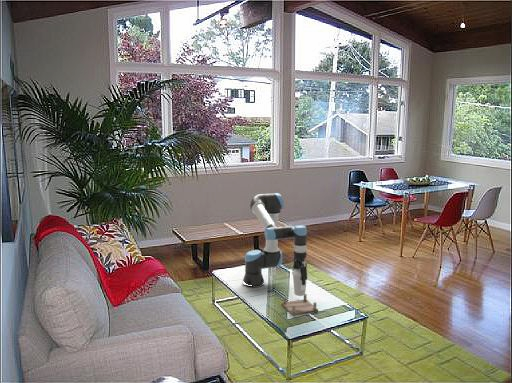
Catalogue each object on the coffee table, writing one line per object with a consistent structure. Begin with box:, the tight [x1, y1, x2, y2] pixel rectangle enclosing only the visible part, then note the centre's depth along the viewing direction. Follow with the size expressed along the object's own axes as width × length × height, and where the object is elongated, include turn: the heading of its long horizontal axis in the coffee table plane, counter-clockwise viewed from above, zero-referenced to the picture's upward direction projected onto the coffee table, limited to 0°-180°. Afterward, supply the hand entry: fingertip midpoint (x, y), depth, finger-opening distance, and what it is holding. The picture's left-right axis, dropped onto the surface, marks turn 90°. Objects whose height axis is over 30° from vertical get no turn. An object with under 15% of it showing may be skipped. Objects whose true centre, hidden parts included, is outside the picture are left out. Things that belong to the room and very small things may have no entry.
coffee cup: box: [291, 269, 309, 297], centre depth 259 cm, size 10×10×15 cm
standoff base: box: [281, 293, 319, 316], centre depth 261 cm, size 17×17×5 cm
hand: (299, 287), depth 260 cm, fingers closed on coffee cup, 8 cm apart
